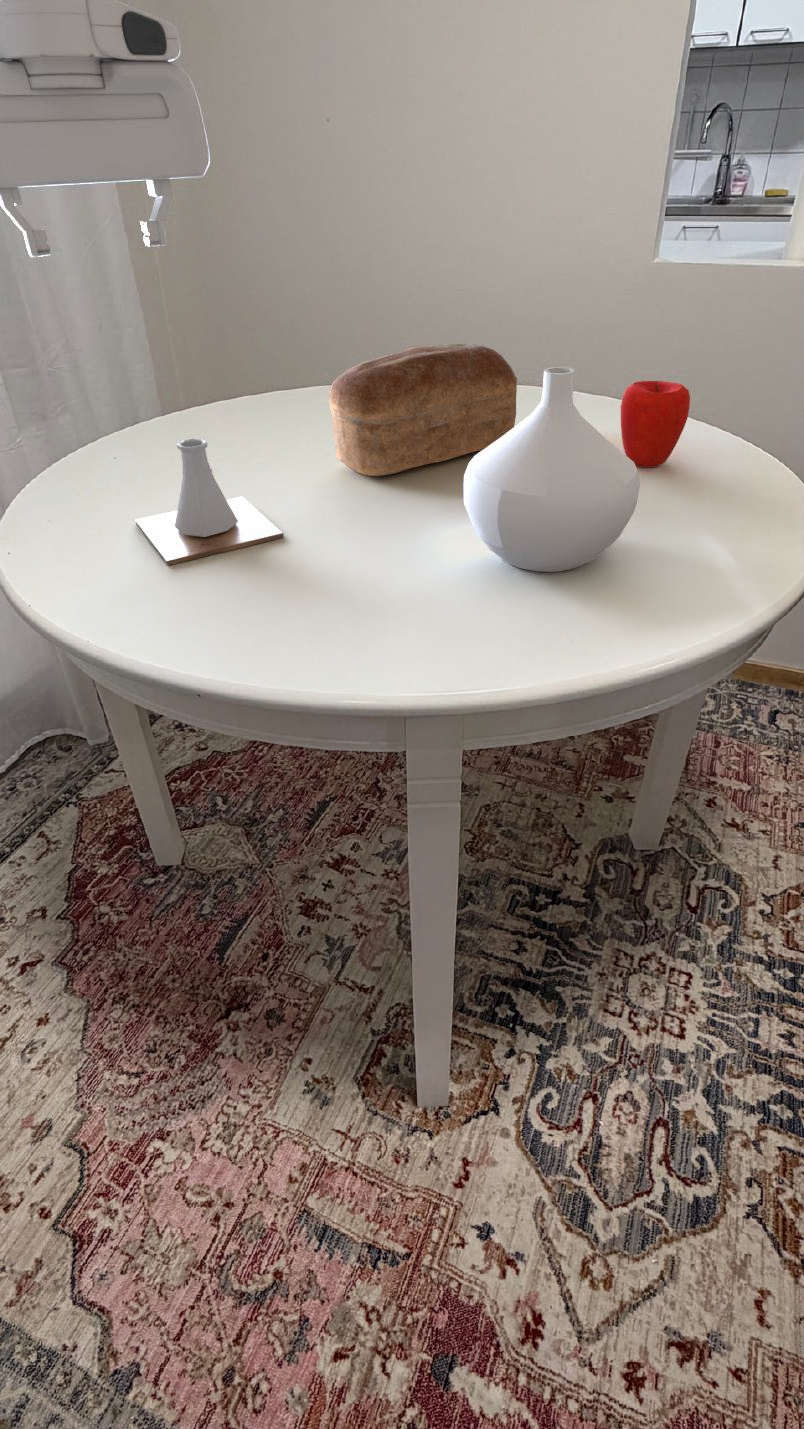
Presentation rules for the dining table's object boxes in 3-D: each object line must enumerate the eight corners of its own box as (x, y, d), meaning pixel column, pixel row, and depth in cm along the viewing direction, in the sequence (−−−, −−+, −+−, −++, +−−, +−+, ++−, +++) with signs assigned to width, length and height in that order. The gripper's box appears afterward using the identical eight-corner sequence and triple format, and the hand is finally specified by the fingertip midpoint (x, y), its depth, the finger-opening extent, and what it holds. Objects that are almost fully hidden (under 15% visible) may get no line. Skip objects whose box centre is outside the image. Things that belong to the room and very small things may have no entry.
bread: (322, 465, 115) (313, 358, 106) (476, 428, 127) (478, 329, 118) (366, 488, 106) (360, 375, 98) (526, 446, 119) (532, 342, 110)
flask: (204, 543, 92) (188, 457, 86) (163, 529, 96) (145, 446, 90) (249, 523, 97) (237, 439, 91) (209, 510, 100) (194, 429, 94)
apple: (673, 452, 114) (687, 372, 108) (684, 473, 107) (700, 389, 101) (610, 452, 115) (620, 373, 109) (617, 473, 108) (628, 390, 102)
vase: (662, 574, 84) (696, 382, 72) (501, 603, 79) (511, 405, 68) (579, 511, 98) (597, 343, 87) (438, 534, 94) (438, 360, 82)
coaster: (167, 565, 89) (166, 560, 89) (136, 524, 99) (135, 519, 99) (284, 537, 94) (283, 533, 94) (243, 501, 104) (242, 496, 104)
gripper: (-108, 23, 52) (-32, 266, 60) (198, 28, 59) (228, 243, 67) (-110, 34, 56) (-40, 258, 64) (174, 37, 64) (205, 237, 72)
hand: (99, 250), depth 66 cm, fingers open, 8 cm apart
